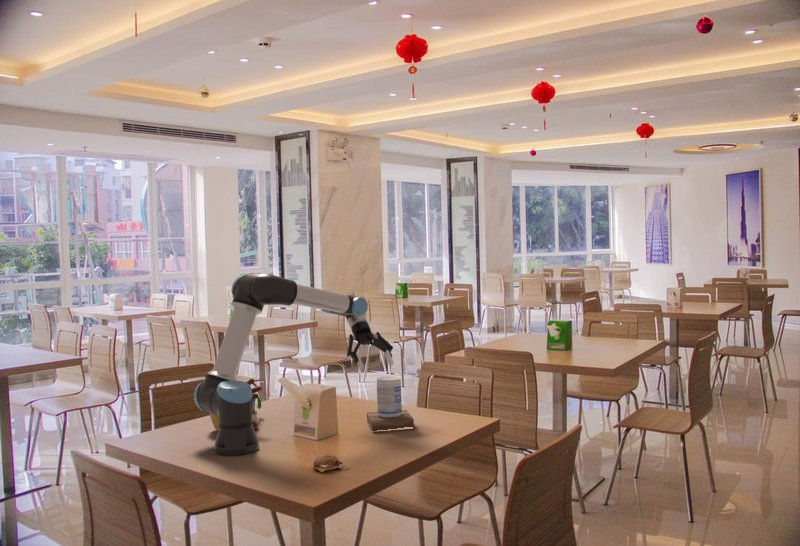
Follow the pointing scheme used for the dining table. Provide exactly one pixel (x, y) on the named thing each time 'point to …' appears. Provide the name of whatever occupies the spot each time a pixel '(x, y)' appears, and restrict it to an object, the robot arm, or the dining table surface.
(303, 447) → the dining table surface
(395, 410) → the supplement tub
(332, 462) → the hamburger
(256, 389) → the bucket of meat
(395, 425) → the walnut stand
